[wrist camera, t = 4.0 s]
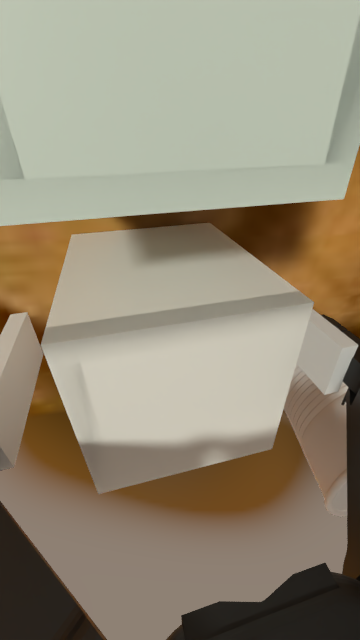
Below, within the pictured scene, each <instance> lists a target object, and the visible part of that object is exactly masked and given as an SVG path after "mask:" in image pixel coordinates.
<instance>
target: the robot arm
mask: <svg viewBox="0 0 360 640" xmlns="http://www.w3.org/2000/svg"><path fill="white" fill-rule="evenodd" d="M42 356H43V352H42V350H41V347H40V344H39V342H38V339H37V337H36V334H35V331H34V329H33V326H32V324H31V321H30V319H29V316H28V313H27V312H26V313H18V314H11V315H10V317H9V319H8V321H7V323H6V325H5V327H4V329H3V331H2V333H1V335H0V471H2V470H6V469H10V468H14V466H15V462H16V458H17V454H18V451H19V446H20V443H21V439H22V435H23V431H24V427H25V423H26V419H27V415H28V411H29V407H30V403H31V400H32V396H33V392H34V388H35V384H36V380H37V376H38V372H39V368H40V364H41V360H42ZM296 364H297V365H298V366H299V367H300V368H301V369H302V370H303V372H304V373H305V374H306V375H307V376H308V377H309V378H310V379H311V381H312V382H313V383H314V384H315V385H316V386H317V387H318V388H319V390H320V391H321V392H322V393H323V394H324V395H326V394H330V393H334V392H339V389H340V387H341V385H342V382H344V383H345V384H346V385H347V386H348V390H347V392H346V394H345V396H344V399H343V401H342V403H341V405H344V404H345V402H346V429H347V527H348V528H347V529H348V544H347V553H346V557H345V560H344V565H343V572H342V574H339V573H334V572H330V570H329V569H328V567H327V565H326V563H323V564H320V565H318V566H315V567H312V568H309V569H307V570H304V571H301V572H299V573H296V574H293V575H292V576H291V577H290V578H289V579H288V580H287V581H285V582H284V583H283V584H282V585H281V586H280V587H279V588H278V589H276V590H275V591H274V593H272V594H271V595H270V596H269V597H268V598H267V599H265V600H264V601H262V602H217V603H214V604H212V605H209V606H206V607H204V608H201V609H198V610H195V611H192V612H190V613H187V614H184V615H182V616H181V617H182V625H180V626H179V627H178V628H177V629H176V630H175V631H174V632H173V633H172V634H171V635H170V636H169V637H168V638H167V639H166V640H360V339H359V338H358V337H356V336H355V335H354V334H352V333H351V332H350V331H347V329H346V328H344V327H343V326H341V324H339V323H338V322H337V321H335V320H334V319H332V318H330V317H328V316H325V315H320V314H319V313H317V312H316V311H315V310H313V309H312V311H311V315H310V318H309V322H308V325H307V329H306V332H305V336H304V339H303V343H302V346H301V349H300V353H299V356H298V360H297V363H296ZM0 640H107V639H106V638H105V636H104V635H103V634H102V632H101V631H100V630H99V629H98V627H97V626H96V625H95V623H94V622H93V621H92V620H91V618H90V617H89V616H88V614H87V613H86V612H85V610H84V609H83V608H82V607H81V605H80V604H79V603H78V601H77V600H76V599H75V597H74V596H73V595H72V594H71V592H70V591H69V590H68V589H67V587H66V586H65V585H64V583H63V582H62V581H61V579H60V578H59V577H58V575H57V574H56V573H55V572H54V570H53V569H52V568H51V566H50V565H49V564H48V562H47V561H46V560H45V558H44V557H43V556H42V555H41V553H40V552H39V551H38V549H37V548H36V547H35V546H34V544H33V543H32V542H31V540H30V539H29V538H28V536H27V535H26V534H25V533H24V531H23V530H22V529H21V527H20V526H19V525H18V523H17V522H16V521H15V520H14V518H13V517H12V516H11V514H10V513H9V512H8V511H7V509H6V508H5V507H4V505H3V504H2V503H1V501H0Z"/></svg>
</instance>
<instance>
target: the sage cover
mask: <svg viewBox="0 0 360 640" xmlns="http://www.w3.org/2000/svg"><path fill="white" fill-rule="evenodd" d="M359 145H360V0H0V226H6V225H18V224H31V223H44V222H57V221H69V220H82V219H95V218H108V217H120V216H133V215H146V214H159V213H171V212H184V211H197V210H210V209H222V208H235V207H248V206H261V205H273V204H286V203H299V202H312V201H324V200H337V199H344V197H345V193H346V190H347V186H348V183H349V179H350V176H351V172H352V169H353V165H354V162H355V158H356V155H357V152H358V148H359Z"/></svg>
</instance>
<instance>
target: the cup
mask: <svg viewBox="0 0 360 640" xmlns="http://www.w3.org/2000/svg"><path fill="white" fill-rule="evenodd" d="M347 390H348V386H347V385H346V384H345V383H344V382H342V385H341V387H340V389H339V392H334V393H330V394H326V395H324V394H323V393H322V392H321V391H320V390H319V388H318V387H317V386H316V385H315V384H314V383H313V382H312V381H311V379H310V378H309V377H308V376H307V375H306V374H305V373H304V372H303V370H302V369H301V368H300V367H299V366H298V365H297V364H296V367H295V370H294V374H293V377H292V381H291V384H290V388H289V391H288V395H287V398H286V402H285V405H284V411H285V412H286V415H287V417H288V419H289V421H290V423H291V426H292V428H293V430H294V432H295V434H296V437H297V439H298V440H299V443H300V445H301V447H302V450H303V452H304V455H305V457H306V459H307V461H308V463H309V466H310V468H311V470H312V472H313V474H314V476H315V479H316V481H317V483H318V485H319V487H320V490H321V492H322V494H323V496H324V498H325V500H324V504H325V508H326V510H327V511H328V512H329V513H330V514H332V515H335V516H342V517H347V429H346V402H345V404H344V405H341V403H342V401H343V399H344V396H345V394H346V392H347Z"/></svg>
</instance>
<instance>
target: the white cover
mask: <svg viewBox="0 0 360 640" xmlns="http://www.w3.org/2000/svg"><path fill="white" fill-rule="evenodd" d="M313 304H314V302H313V301H312V300H310V299H309V298H308V297H306V296H305V295H304V294H302V293H301V292H300V291H298V290H297V289H296V288H295V287H293V286H292V285H291V284H289V283H288V282H287V281H285V280H284V279H283V278H281V277H280V276H279V275H278V274H276V273H275V272H274V271H272V270H271V269H270V268H268V267H267V266H266V265H264V264H263V263H262V262H261V261H259V260H258V259H257V258H255V257H254V256H253V255H251V254H250V253H249V252H247V251H246V250H245V249H244V248H242V247H241V246H240V245H238V244H237V243H236V242H234V241H233V240H232V239H230V238H229V237H228V236H227V235H225V234H224V233H223V232H221V231H220V230H219V229H217V228H216V227H215V226H213V225H212V224H211V223H200V224H188V225H177V226H166V227H154V228H143V229H131V230H120V231H109V232H97V233H86V234H74V235H72V236H71V240H70V243H69V247H68V250H67V254H66V257H65V261H64V265H63V268H62V272H61V275H60V279H59V282H58V286H57V289H56V293H55V296H54V300H53V304H52V307H51V311H50V314H49V318H48V321H47V325H46V328H45V332H44V336H43V339H42V343H41V347H42V350H43V352H44V355H45V357H46V360H47V362H48V365H49V368H50V370H51V373H52V375H53V378H54V381H55V383H56V386H57V388H58V391H59V393H60V396H61V399H62V401H63V404H64V406H65V409H66V412H67V414H68V417H69V419H70V422H71V424H72V427H73V430H74V432H75V435H76V437H77V440H78V442H79V445H80V447H81V450H82V453H83V455H84V458H85V460H86V463H87V466H88V468H89V471H90V473H91V476H92V479H93V481H94V484H95V486H96V489H97V492H98V494H101V493H104V492H108V491H112V490H116V489H120V488H123V487H127V486H131V485H135V484H139V483H143V482H147V481H150V480H154V479H158V478H162V477H166V476H170V475H173V474H177V473H181V472H185V471H189V470H193V469H196V468H200V467H204V466H208V465H212V464H216V463H219V462H223V461H227V460H231V459H235V458H239V457H242V456H246V455H250V454H254V453H258V452H262V451H266V450H269V449H272V446H273V443H274V440H275V436H276V433H277V429H278V426H279V422H280V419H281V415H282V412H283V409H284V405H285V402H286V398H287V395H288V391H289V388H290V384H291V381H292V377H293V374H294V370H295V367H296V363H297V360H298V356H299V353H300V349H301V346H302V343H303V339H304V336H305V332H306V329H307V325H308V322H309V318H310V315H311V311H312V308H313Z"/></svg>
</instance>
